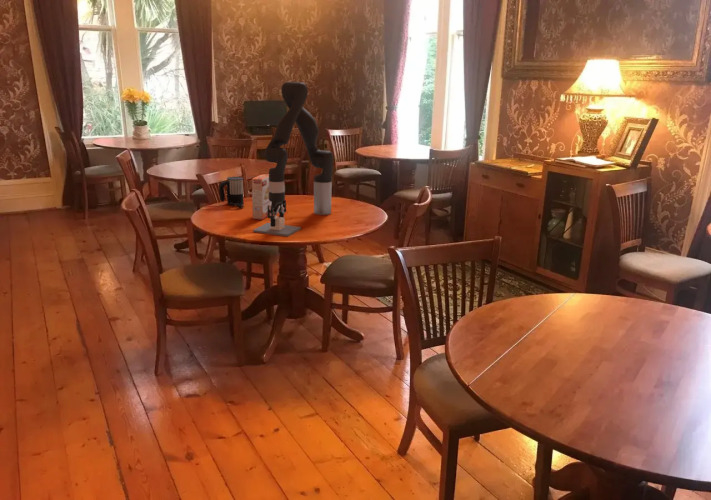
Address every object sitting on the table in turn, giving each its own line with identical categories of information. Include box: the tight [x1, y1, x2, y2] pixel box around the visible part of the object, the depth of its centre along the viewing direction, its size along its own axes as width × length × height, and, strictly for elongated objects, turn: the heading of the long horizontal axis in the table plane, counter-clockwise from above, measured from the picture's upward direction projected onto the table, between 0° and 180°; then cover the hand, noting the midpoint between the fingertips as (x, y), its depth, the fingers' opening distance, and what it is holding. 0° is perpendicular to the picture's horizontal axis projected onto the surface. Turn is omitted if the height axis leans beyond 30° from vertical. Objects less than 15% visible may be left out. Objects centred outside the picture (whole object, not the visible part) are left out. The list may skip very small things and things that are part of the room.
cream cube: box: [269, 216, 286, 230], centre depth 267 cm, size 5×5×5 cm
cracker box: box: [251, 173, 272, 221], centre depth 288 cm, size 14×6×21 cm, turn 168°
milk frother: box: [218, 176, 245, 209], centre depth 310 cm, size 14×16×15 cm
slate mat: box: [252, 222, 302, 238], centre depth 267 cm, size 14×18×1 cm
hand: (277, 224), depth 267 cm, fingers open, 8 cm apart
